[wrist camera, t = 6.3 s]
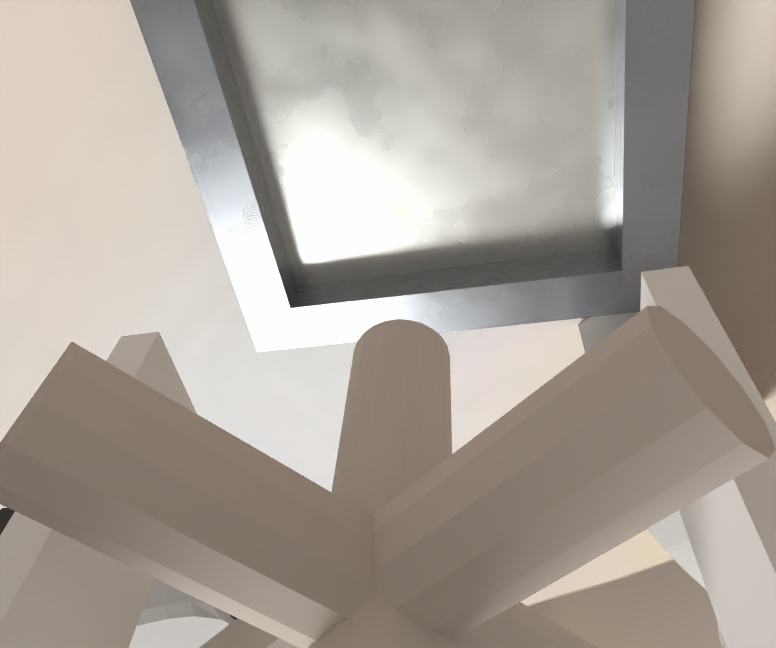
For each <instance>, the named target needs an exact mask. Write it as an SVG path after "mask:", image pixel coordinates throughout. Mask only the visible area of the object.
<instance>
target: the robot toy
mask: <svg viewBox="0 0 776 648" xmlns="http://www.w3.org/2000/svg"><path fill="white" fill-rule="evenodd" d="M236 619H237V618H236V617H234V616H232V615H230V614H228V613H226V612H224V611H222V610H220V609H218V608H216V607H213V606H211V605H209V604H207V603H205V602H203V601H201V600H199V599H197V598H195V597H193V596H191V595H189V594H186V593H184V592H182V591H180V590H178V589H176V588H174V587H172V586H170V585H168V584H166V583H164V582H161V581H159V580H157V579H155V578H154V580H153V583H152V586H151V589H150V591H149V594H148V597H147V599H146V602H145V605H144V607H143V610H142V613H141V615H140V618H139V621H138V623H137V626H136V629H135V632H134V634H133V637H132V640H131V642H130V645H129V648H199V647H201V646H202V645H203V644H204V643H206V642H207V641H208V640H210V639H211V638H212V637H214V636H215V635H216V634H218V633H219V632H220V631H221V630H223V629H224V628H225V627H227V626H228V625H229V624H231V623H232V622H233V621H235V620H236Z"/></svg>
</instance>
